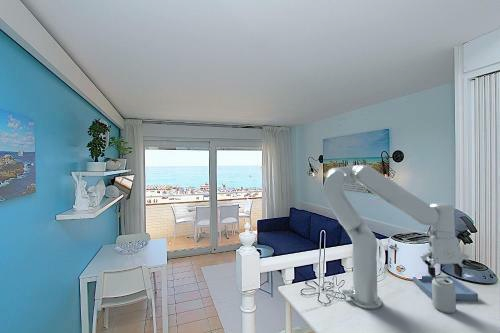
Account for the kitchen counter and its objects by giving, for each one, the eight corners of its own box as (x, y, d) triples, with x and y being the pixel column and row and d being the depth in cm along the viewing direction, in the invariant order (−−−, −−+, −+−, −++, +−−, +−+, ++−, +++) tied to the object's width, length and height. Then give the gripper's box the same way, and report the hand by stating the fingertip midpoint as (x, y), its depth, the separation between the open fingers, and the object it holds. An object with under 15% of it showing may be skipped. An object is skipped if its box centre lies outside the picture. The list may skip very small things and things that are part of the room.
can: (460, 315, 93) (460, 284, 93) (438, 313, 95) (438, 283, 94) (448, 303, 101) (448, 275, 100) (428, 302, 102) (427, 274, 102)
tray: (431, 299, 104) (431, 292, 104) (411, 281, 120) (411, 275, 119) (477, 301, 102) (477, 294, 101) (451, 281, 117) (450, 275, 117)
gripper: (425, 237, 94) (427, 280, 94) (474, 236, 92) (476, 280, 92) (414, 231, 102) (416, 271, 102) (459, 230, 99) (461, 271, 100)
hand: (445, 275), depth 97 cm, fingers open, 9 cm apart
